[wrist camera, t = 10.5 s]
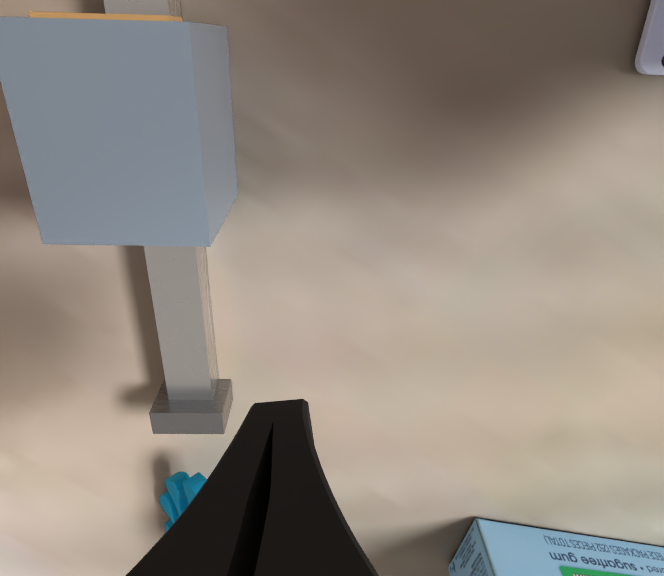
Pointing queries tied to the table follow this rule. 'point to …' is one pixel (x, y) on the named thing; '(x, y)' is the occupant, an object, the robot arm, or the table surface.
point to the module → (121, 126)
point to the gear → (179, 494)
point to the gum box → (549, 553)
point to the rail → (182, 315)
